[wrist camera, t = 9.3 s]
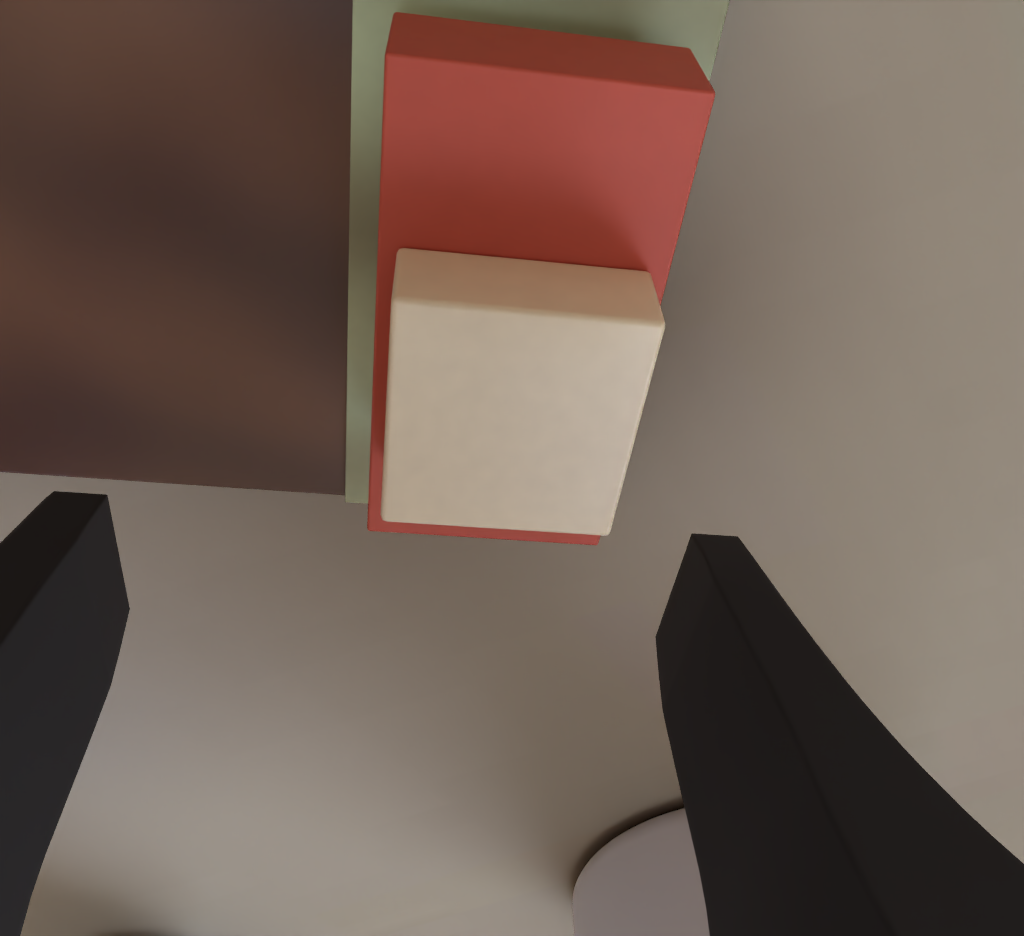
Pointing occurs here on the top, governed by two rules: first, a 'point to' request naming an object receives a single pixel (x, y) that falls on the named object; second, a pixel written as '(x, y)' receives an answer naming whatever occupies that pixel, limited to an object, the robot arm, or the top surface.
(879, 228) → the top surface
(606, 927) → the cylinder vase
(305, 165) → the board
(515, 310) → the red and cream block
